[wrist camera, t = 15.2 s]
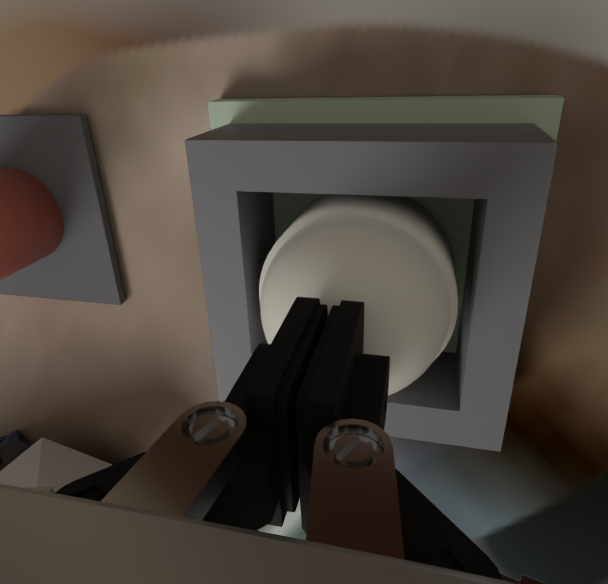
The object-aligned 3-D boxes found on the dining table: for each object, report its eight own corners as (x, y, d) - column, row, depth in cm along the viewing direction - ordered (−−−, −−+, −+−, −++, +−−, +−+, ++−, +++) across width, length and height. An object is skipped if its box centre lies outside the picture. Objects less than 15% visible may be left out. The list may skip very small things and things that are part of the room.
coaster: (86, 114, 19) (79, 115, 19) (125, 300, 22) (120, 305, 22) (-81, 115, 21) (-90, 116, 20) (-20, 287, 24) (-27, 291, 24)
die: (98, 388, 29) (-56, 500, 28) (60, 443, 20) (-167, 611, 19) (186, 494, 31) (46, 605, 29) (186, 586, 22) (-14, 752, 20)
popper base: (557, 95, 15) (597, 111, 11) (504, 389, 20) (520, 471, 16) (219, 98, 18) (157, 113, 14) (244, 359, 22) (205, 425, 19)
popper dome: (464, 186, 15) (477, 252, 10) (446, 350, 18) (449, 464, 13) (278, 181, 17) (213, 237, 12) (286, 335, 19) (235, 432, 14)
